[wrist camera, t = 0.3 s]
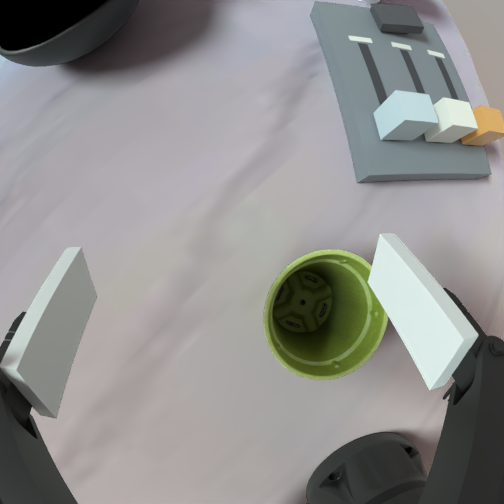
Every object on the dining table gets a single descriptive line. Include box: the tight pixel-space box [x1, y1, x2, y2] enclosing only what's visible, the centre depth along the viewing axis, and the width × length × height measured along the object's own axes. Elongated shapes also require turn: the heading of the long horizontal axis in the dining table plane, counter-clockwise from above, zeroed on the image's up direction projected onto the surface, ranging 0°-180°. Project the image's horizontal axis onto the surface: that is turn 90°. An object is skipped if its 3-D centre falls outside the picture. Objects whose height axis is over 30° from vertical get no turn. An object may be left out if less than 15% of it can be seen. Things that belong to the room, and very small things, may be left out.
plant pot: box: [263, 249, 388, 380], centre depth 25 cm, size 9×9×9 cm
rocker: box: [370, 3, 424, 34], centre depth 26 cm, size 4×6×2 cm, turn 97°
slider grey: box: [373, 90, 439, 141], centre depth 24 cm, size 3×4×5 cm
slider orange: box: [461, 105, 504, 146], centre depth 25 cm, size 3×4×5 cm
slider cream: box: [424, 97, 478, 143], centre depth 25 cm, size 3×4×5 cm
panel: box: [310, 1, 491, 183], centre depth 29 cm, size 24×19×4 cm
